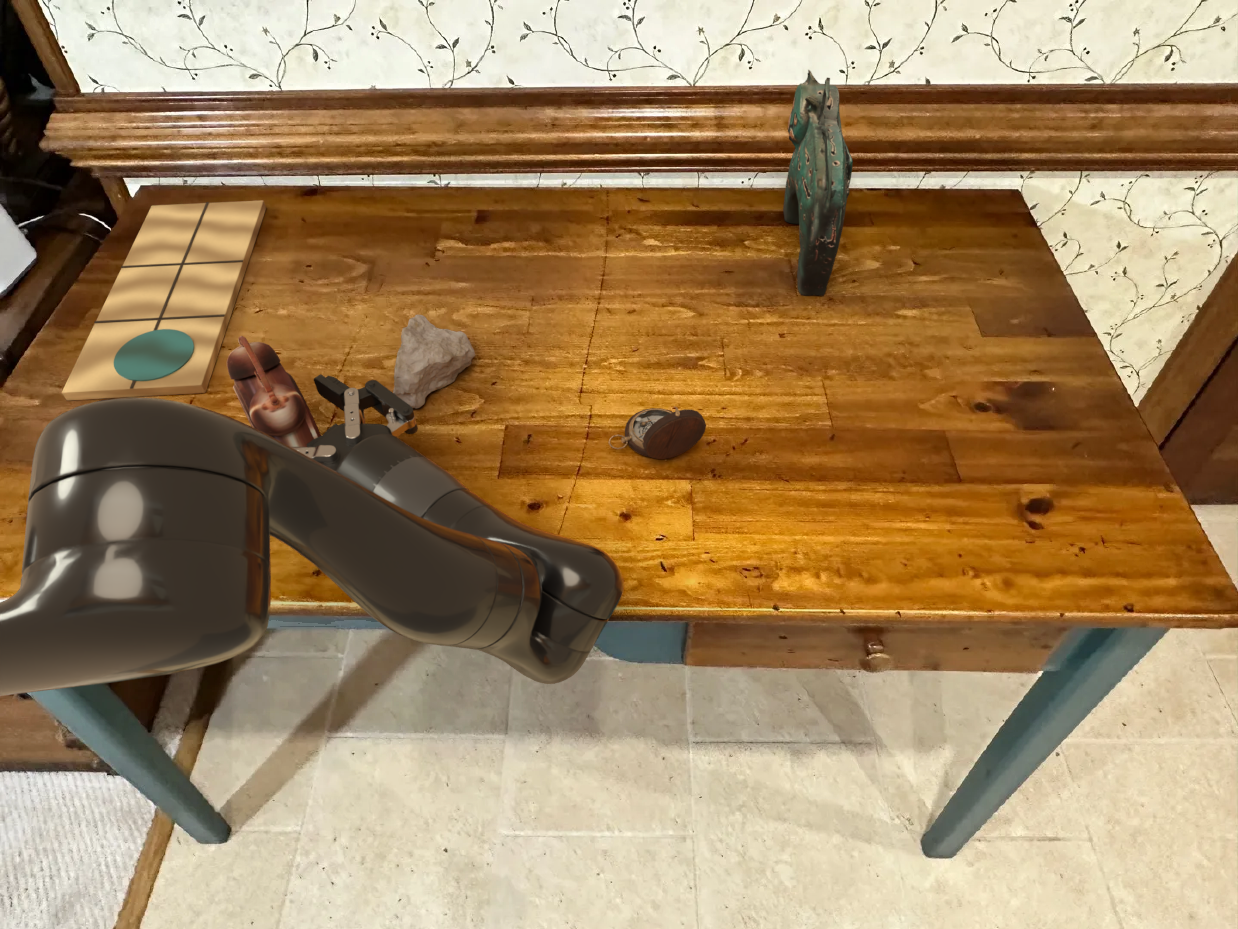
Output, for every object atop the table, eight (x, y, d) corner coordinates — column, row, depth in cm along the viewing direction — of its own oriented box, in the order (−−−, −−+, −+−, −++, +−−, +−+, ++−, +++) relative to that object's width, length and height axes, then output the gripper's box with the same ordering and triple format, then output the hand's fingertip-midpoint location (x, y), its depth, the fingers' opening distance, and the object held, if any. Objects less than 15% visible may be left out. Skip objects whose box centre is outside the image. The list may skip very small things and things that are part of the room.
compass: (670, 406, 89) (673, 352, 84) (704, 461, 84) (710, 407, 79) (597, 428, 87) (595, 375, 82) (628, 485, 82) (628, 432, 77)
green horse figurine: (773, 202, 113) (796, 45, 98) (823, 203, 113) (854, 45, 98) (786, 299, 100) (814, 135, 85) (843, 301, 100) (881, 136, 85)
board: (205, 393, 91) (200, 383, 90) (66, 401, 90) (59, 391, 89) (266, 208, 113) (263, 198, 112) (155, 213, 112) (150, 203, 111)
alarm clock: (258, 442, 86) (203, 324, 75) (306, 423, 88) (258, 304, 77) (295, 516, 80) (241, 400, 69) (345, 494, 82) (300, 377, 71)
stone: (451, 420, 88) (442, 377, 84) (376, 407, 89) (363, 365, 85) (483, 355, 94) (476, 313, 90) (413, 344, 96) (402, 302, 91)
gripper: (461, 417, 71) (332, 335, 78) (322, 527, 64) (193, 426, 71) (473, 476, 77) (352, 395, 84) (346, 583, 70) (224, 485, 76)
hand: (279, 409), depth 77 cm, fingers open, 8 cm apart
